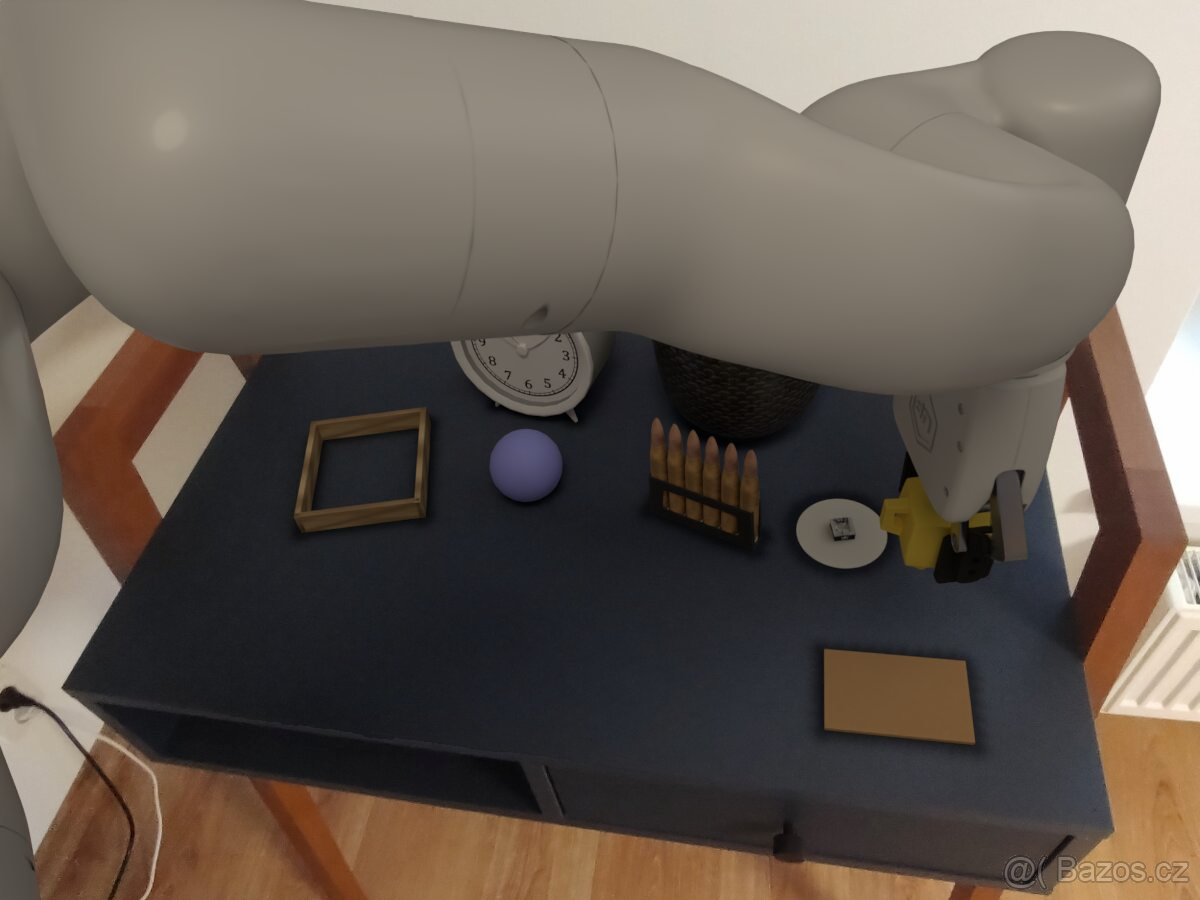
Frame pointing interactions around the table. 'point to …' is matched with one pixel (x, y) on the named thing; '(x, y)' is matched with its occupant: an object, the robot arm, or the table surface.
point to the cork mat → (897, 696)
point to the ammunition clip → (705, 488)
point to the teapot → (919, 524)
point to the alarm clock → (536, 369)
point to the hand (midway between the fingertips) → (941, 531)
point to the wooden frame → (372, 511)
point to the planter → (731, 394)
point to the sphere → (525, 465)
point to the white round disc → (841, 533)
